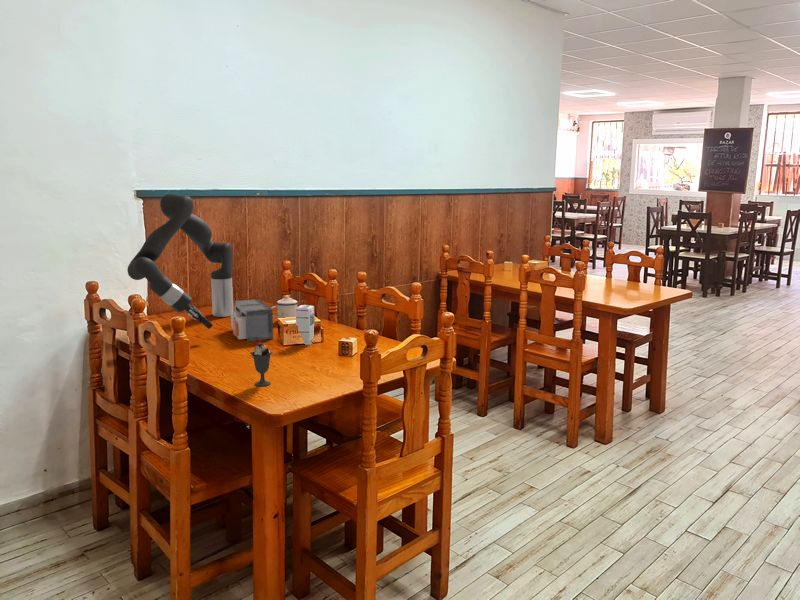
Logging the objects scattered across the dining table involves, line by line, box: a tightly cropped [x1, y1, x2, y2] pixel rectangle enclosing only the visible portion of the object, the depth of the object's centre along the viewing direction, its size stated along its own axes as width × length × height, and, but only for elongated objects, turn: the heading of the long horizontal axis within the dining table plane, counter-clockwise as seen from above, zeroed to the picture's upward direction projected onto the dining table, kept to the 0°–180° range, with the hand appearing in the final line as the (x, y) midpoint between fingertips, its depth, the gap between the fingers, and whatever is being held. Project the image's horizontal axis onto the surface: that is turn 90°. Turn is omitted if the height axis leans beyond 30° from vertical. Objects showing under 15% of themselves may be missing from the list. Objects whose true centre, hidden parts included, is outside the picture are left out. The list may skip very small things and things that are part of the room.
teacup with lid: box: [270, 295, 299, 319], centre depth 284 cm, size 12×9×12 cm
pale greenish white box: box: [230, 310, 240, 329], centre depth 266 cm, size 5×9×8 cm, turn 115°
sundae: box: [249, 337, 273, 387], centre depth 200 cm, size 7×7×15 cm
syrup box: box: [295, 304, 316, 346], centre depth 249 cm, size 6×6×14 cm
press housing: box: [234, 298, 274, 342], centre depth 262 cm, size 23×10×12 cm, turn 25°
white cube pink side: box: [232, 316, 247, 340], centre depth 256 cm, size 5×9×8 cm, turn 115°
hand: (210, 326), depth 250 cm, fingers closed
